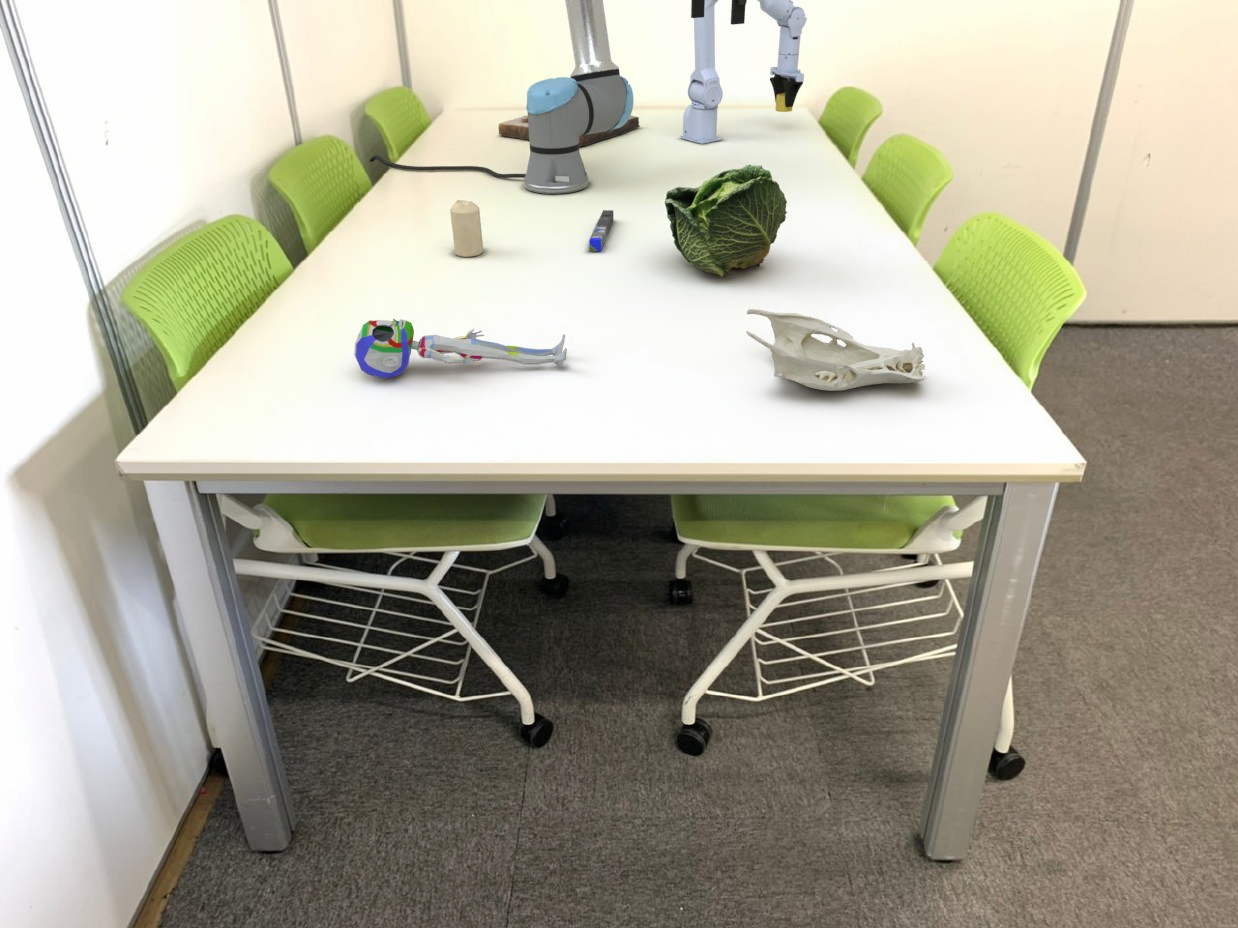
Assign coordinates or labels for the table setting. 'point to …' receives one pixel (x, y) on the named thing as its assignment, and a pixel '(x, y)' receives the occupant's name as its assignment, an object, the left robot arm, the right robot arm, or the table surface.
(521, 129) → the plaque
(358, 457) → the table surface
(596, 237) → the pillar
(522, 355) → the toy
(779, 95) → the cylinder
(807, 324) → the anatomical model
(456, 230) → the candle
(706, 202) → the vegetable
